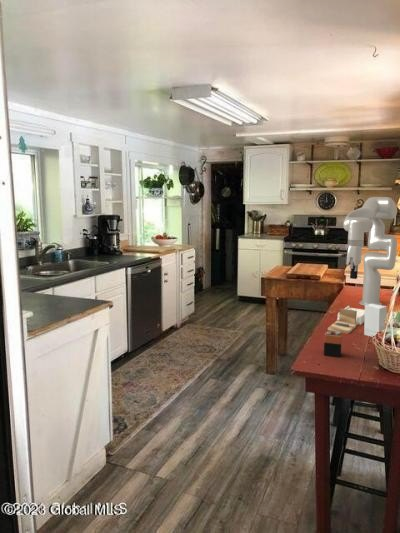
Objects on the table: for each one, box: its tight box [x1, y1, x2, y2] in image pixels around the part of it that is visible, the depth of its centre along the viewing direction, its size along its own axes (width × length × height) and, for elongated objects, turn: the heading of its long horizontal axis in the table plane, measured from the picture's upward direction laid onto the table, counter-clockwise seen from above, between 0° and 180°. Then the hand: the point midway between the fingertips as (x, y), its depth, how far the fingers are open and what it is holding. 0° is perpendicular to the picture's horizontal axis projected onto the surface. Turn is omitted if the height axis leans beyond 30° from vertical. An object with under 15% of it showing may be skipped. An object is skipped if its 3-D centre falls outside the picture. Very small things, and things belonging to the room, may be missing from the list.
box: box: [336, 305, 365, 326], centre depth 231 cm, size 18×12×4 cm, turn 144°
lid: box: [327, 308, 359, 335], centre depth 216 cm, size 17×10×8 cm, turn 145°
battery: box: [323, 330, 343, 358], centre depth 180 cm, size 4×7×10 cm, turn 71°
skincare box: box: [363, 304, 388, 338], centre depth 203 cm, size 8×6×15 cm
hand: (353, 278), depth 223 cm, fingers closed
